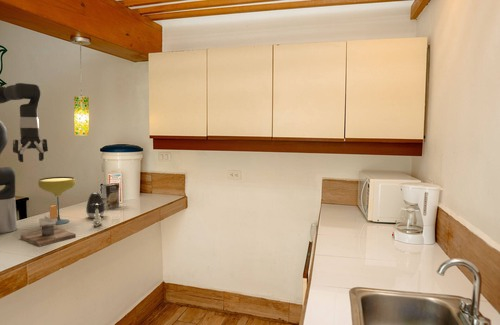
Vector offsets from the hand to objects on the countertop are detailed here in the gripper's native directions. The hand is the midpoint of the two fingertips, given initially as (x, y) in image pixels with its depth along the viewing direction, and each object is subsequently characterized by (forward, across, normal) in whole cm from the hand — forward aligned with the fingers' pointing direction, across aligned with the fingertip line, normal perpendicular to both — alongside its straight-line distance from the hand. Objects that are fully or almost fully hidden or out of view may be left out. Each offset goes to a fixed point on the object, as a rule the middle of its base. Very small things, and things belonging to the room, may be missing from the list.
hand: (31, 161), depth 165 cm
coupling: (+32, +5, -5) cm, 32 cm away
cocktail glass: (+38, +22, +21) cm, 49 cm away
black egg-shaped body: (+38, +41, +15) cm, 58 cm away
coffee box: (+38, +60, +28) cm, 76 cm away
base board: (+38, +5, -2) cm, 38 cm away
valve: (+38, +32, -1) cm, 50 cm away
